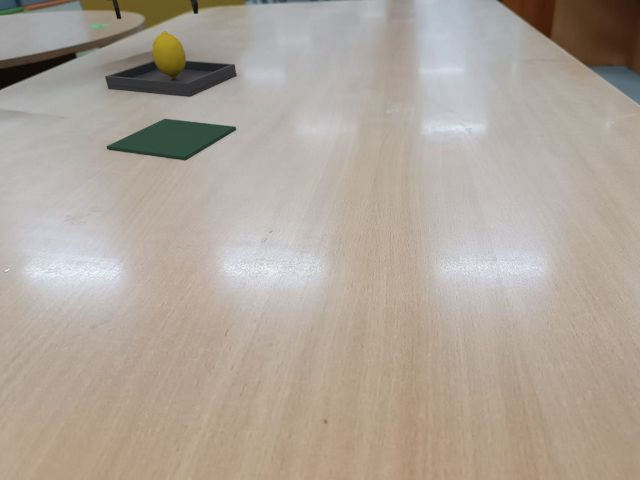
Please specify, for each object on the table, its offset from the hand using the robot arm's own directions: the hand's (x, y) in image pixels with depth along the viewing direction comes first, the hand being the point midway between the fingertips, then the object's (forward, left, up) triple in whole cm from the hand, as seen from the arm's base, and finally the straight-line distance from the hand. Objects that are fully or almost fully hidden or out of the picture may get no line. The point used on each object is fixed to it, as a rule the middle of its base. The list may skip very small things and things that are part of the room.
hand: (158, 11), depth 93 cm
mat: (+23, -31, -11) cm, 40 cm away
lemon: (+4, -5, -11) cm, 12 cm away
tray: (+4, -5, -11) cm, 13 cm away
